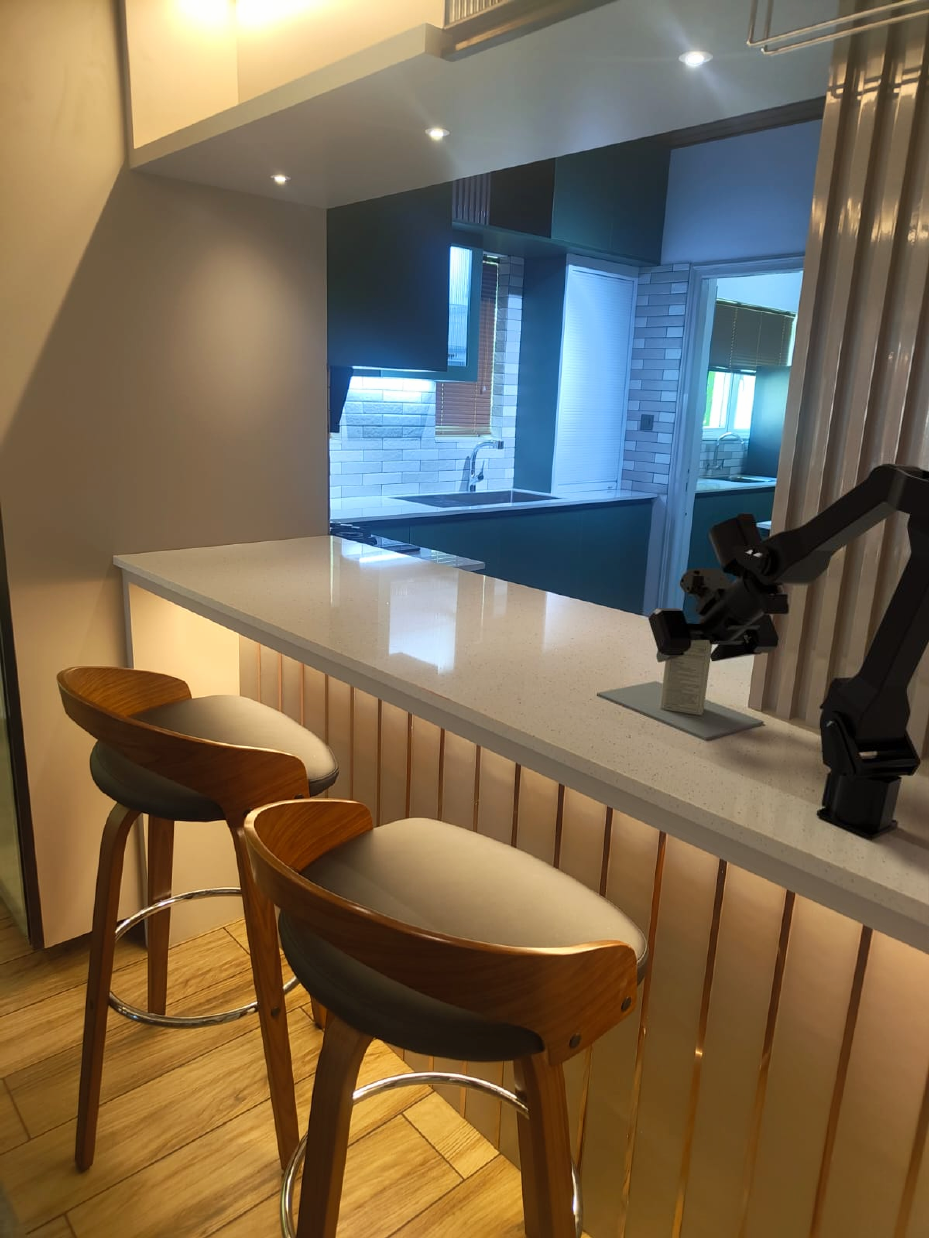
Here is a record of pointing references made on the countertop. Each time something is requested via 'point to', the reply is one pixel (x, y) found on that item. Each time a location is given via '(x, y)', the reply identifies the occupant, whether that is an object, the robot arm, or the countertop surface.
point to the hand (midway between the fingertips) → (685, 658)
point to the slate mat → (704, 726)
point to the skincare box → (687, 680)
